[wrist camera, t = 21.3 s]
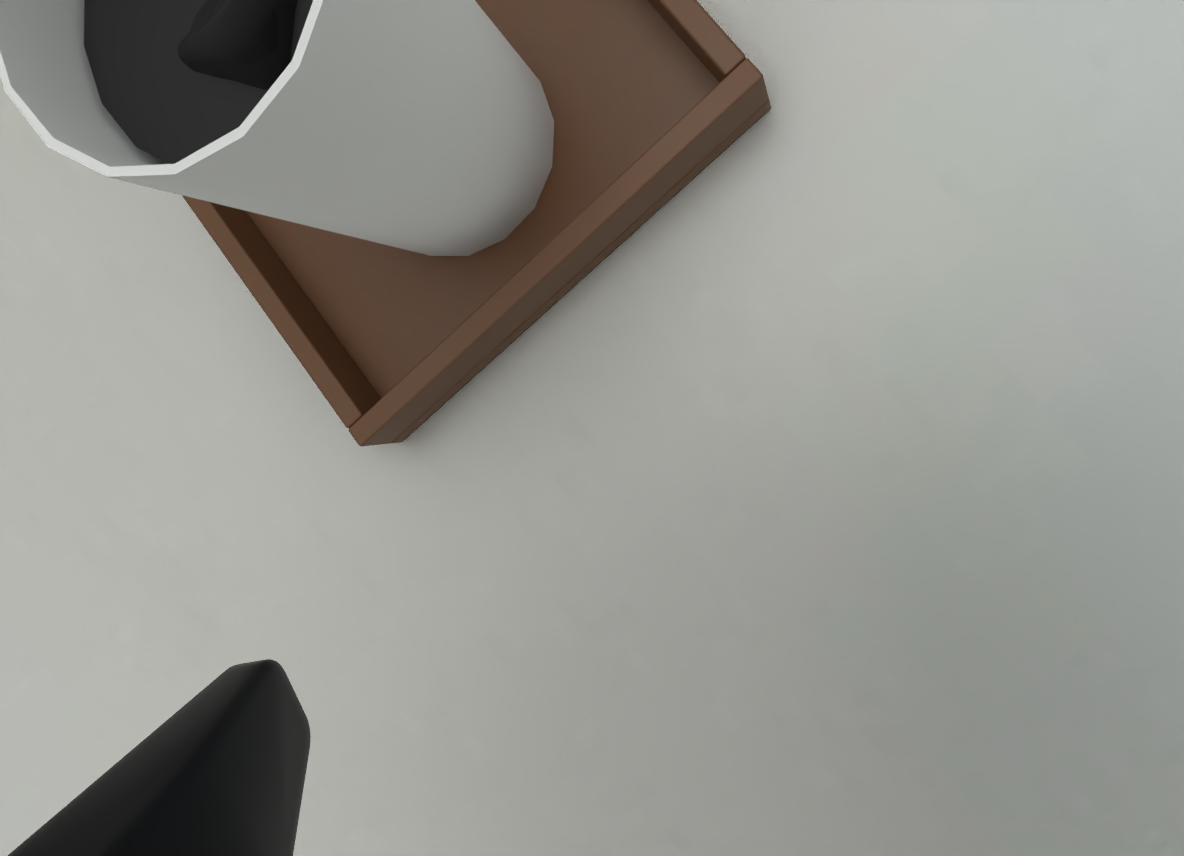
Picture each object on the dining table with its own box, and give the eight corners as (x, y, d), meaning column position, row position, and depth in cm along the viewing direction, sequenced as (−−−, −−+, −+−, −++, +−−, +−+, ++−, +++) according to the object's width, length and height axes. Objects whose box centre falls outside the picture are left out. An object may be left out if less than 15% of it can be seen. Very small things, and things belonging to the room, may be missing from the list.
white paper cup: (598, 35, 20) (381, -283, 11) (538, 297, 21) (286, 217, 12) (371, 6, 22) (14, -289, 13) (323, 248, 23) (-48, 142, 13)
